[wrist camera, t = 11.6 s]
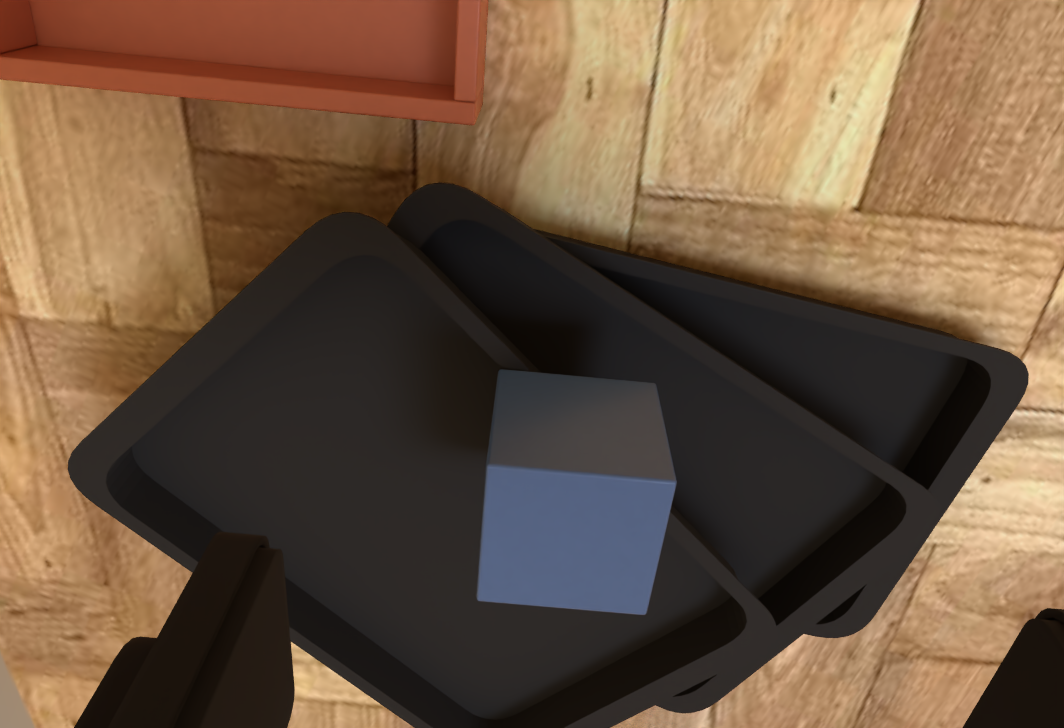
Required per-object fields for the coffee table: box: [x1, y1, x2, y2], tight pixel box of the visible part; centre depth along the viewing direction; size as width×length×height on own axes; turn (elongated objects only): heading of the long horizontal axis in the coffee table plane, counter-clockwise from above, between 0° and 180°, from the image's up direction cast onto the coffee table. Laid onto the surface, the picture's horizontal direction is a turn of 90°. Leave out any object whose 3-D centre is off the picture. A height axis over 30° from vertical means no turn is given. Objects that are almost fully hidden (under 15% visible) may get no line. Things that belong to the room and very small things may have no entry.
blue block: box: [476, 369, 677, 615], centre depth 21 cm, size 4×4×4 cm
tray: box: [68, 182, 1029, 728], centre depth 27 cm, size 30×23×5 cm
